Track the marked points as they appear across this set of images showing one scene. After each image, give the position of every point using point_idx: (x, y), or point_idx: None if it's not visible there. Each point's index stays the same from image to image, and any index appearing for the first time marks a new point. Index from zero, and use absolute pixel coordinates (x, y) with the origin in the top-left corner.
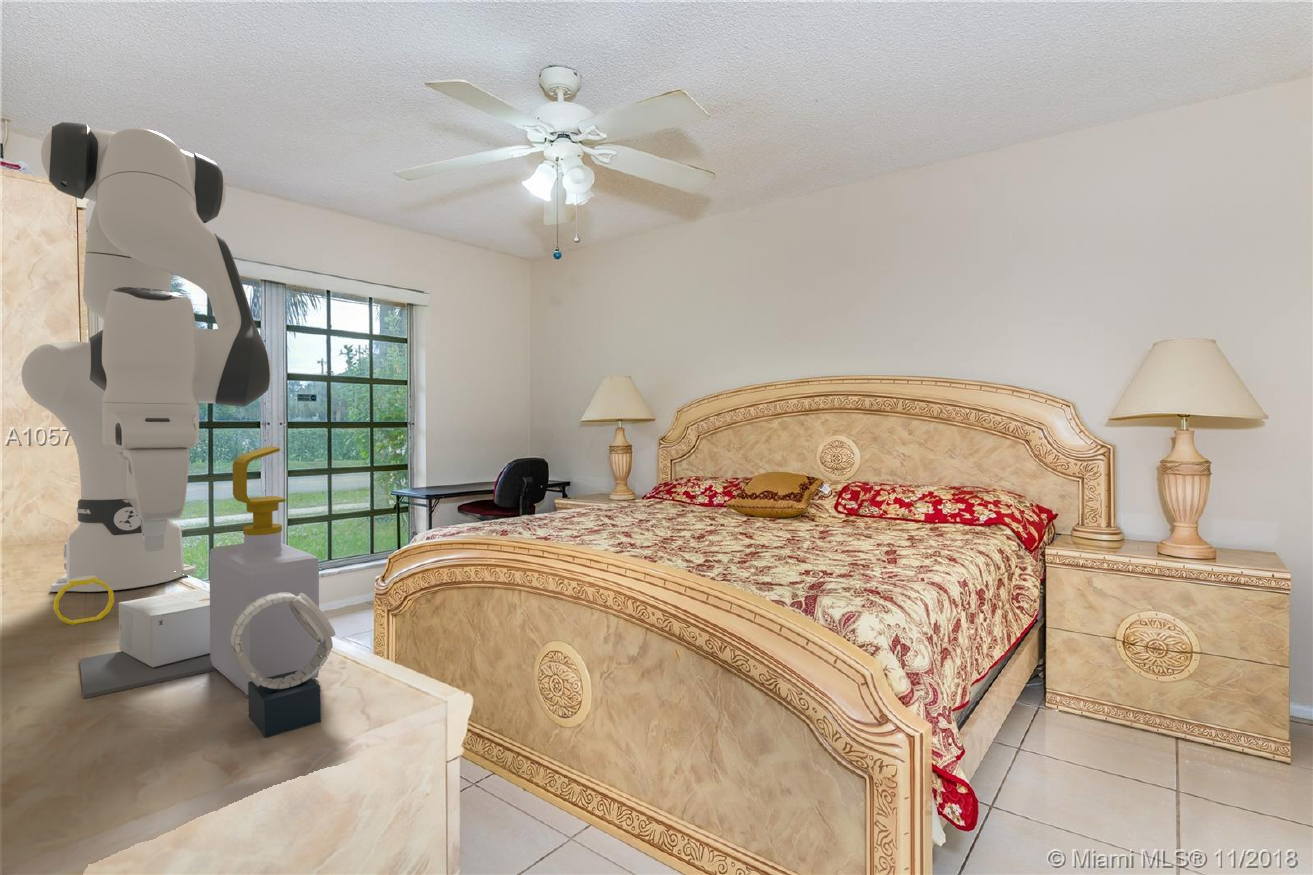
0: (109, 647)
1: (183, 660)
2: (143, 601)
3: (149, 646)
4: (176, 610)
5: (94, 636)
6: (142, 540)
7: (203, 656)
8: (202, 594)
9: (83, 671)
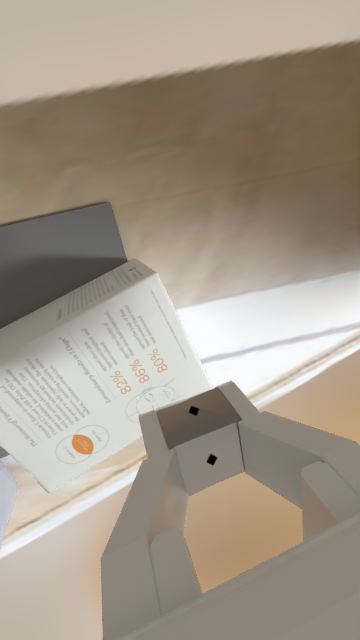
0: (186, 231)
1: None
2: (129, 327)
3: None
4: None
5: (270, 192)
6: (231, 397)
7: None
8: None
9: (16, 227)
